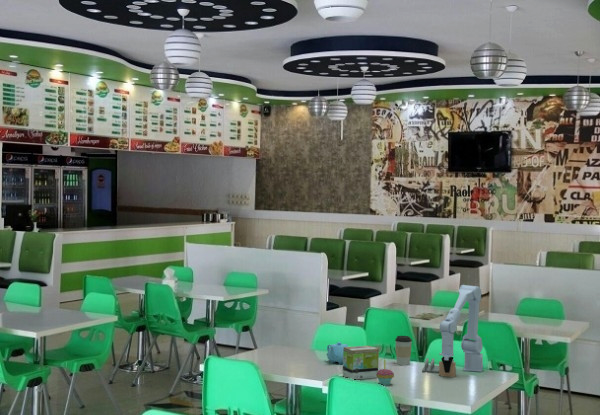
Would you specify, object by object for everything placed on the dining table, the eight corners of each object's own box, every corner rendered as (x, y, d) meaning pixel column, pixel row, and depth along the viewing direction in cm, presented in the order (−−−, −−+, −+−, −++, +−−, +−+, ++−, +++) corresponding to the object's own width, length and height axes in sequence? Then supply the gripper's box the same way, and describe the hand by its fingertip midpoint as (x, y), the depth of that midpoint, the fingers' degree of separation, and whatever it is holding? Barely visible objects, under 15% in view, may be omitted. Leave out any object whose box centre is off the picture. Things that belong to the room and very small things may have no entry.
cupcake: (374, 382, 374) (375, 357, 374) (392, 382, 374) (392, 357, 374) (377, 386, 365) (378, 360, 365) (395, 386, 366) (396, 360, 366)
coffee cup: (411, 362, 422) (411, 334, 422) (412, 365, 413) (412, 337, 413) (394, 361, 422) (394, 334, 422) (394, 365, 413) (395, 337, 413)
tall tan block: (455, 376, 389) (455, 362, 389) (455, 376, 387) (455, 362, 387) (439, 375, 391) (439, 361, 391) (439, 375, 390) (439, 361, 390)
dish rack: (455, 368, 406) (455, 359, 406) (453, 374, 393) (454, 364, 393) (424, 366, 411) (425, 357, 411) (422, 372, 397) (422, 362, 397)
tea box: (352, 380, 376) (353, 350, 376) (342, 376, 385) (342, 346, 385) (378, 378, 383) (379, 348, 383) (367, 373, 392) (368, 344, 392)
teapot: (348, 361, 426) (348, 340, 427) (353, 365, 412) (353, 343, 413) (325, 361, 424) (325, 340, 425) (330, 365, 410) (330, 344, 411)
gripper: (440, 342, 397) (440, 368, 397) (438, 346, 383) (437, 374, 383) (454, 342, 395) (454, 369, 396) (452, 347, 381) (452, 375, 381)
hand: (447, 372), depth 389 cm, fingers closed on tall tan block, 2 cm apart
